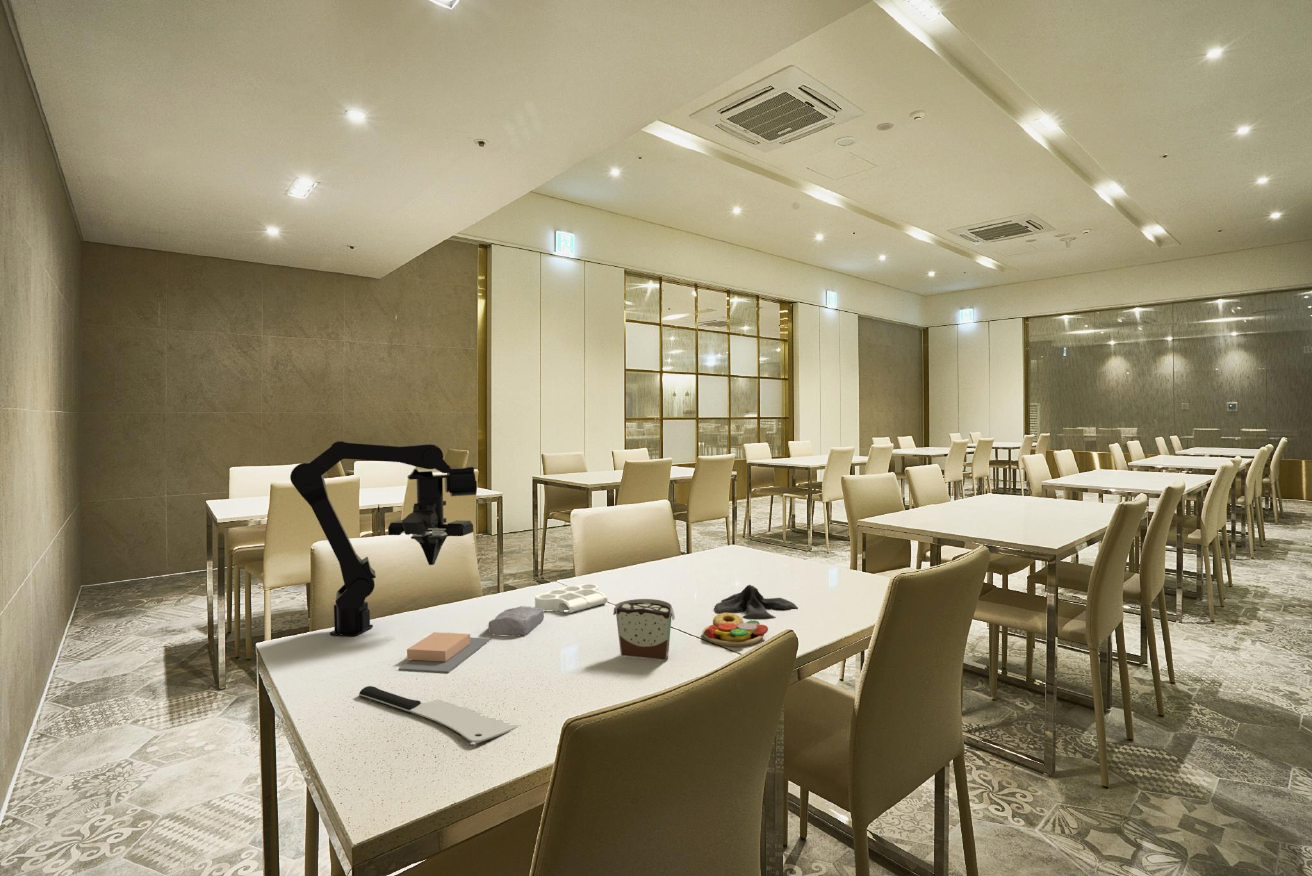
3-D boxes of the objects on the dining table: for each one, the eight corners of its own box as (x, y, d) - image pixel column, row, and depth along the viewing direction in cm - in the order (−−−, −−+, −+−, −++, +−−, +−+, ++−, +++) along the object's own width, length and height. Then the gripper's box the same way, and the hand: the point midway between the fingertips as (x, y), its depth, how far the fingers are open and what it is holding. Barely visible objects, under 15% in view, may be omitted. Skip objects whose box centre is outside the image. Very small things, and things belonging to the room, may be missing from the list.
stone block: (486, 644, 139) (529, 636, 137) (481, 622, 139) (524, 614, 137) (508, 628, 150) (548, 621, 149) (504, 608, 151) (544, 601, 149)
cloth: (805, 606, 158) (805, 581, 158) (776, 626, 143) (775, 599, 142) (725, 594, 170) (724, 570, 170) (689, 611, 155) (689, 586, 155)
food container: (683, 650, 127) (682, 600, 127) (674, 662, 121) (673, 609, 121) (625, 644, 131) (624, 596, 131) (613, 655, 125) (612, 604, 125)
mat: (398, 670, 119) (398, 668, 119) (447, 637, 137) (447, 636, 137) (448, 672, 118) (448, 671, 118) (491, 639, 135) (491, 638, 135)
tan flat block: (407, 649, 123) (445, 651, 122) (434, 632, 133) (469, 634, 132) (407, 660, 124) (445, 662, 122) (434, 642, 133) (470, 644, 132)
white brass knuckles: (558, 619, 150) (524, 607, 161) (617, 603, 162) (582, 593, 173) (558, 605, 150) (524, 594, 160) (617, 590, 162) (582, 580, 173)
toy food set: (722, 624, 144) (722, 609, 144) (777, 634, 137) (776, 619, 137) (691, 641, 133) (690, 625, 133) (748, 653, 126) (748, 637, 126)
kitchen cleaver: (529, 717, 98) (479, 737, 90) (528, 728, 98) (478, 749, 90) (402, 676, 115) (350, 690, 107) (401, 686, 115) (349, 700, 107)
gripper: (372, 502, 143) (374, 571, 143) (450, 502, 139) (451, 574, 140) (401, 496, 154) (402, 561, 154) (473, 496, 150) (475, 562, 151)
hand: (431, 564), depth 149 cm, fingers closed
